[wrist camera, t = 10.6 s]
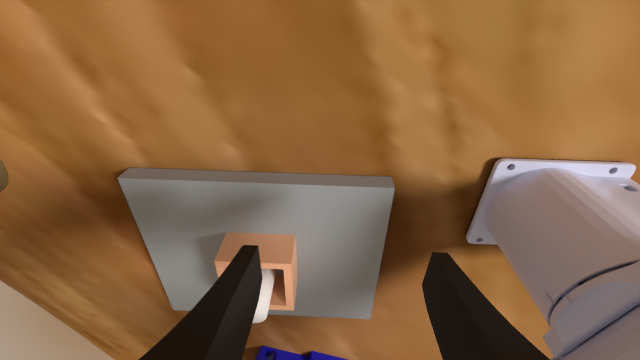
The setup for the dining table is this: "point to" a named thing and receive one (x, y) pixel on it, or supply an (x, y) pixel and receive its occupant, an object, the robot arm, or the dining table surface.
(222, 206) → the post board
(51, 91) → the dining table surface
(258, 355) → the cable clip
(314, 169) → the dining table surface
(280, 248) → the collar
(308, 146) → the dining table surface
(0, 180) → the cork
